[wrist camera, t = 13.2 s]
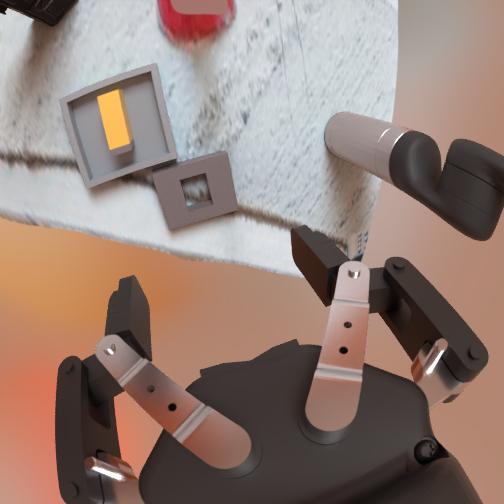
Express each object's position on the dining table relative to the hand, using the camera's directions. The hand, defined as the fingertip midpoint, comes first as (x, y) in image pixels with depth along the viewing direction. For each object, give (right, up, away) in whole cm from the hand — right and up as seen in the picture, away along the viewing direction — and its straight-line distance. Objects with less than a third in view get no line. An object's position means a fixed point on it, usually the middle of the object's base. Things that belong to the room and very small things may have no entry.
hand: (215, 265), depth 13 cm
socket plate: (-8, +11, +31) cm, 34 cm away
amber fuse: (-18, +22, +16) cm, 33 cm away
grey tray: (-18, +20, +21) cm, 34 cm away
